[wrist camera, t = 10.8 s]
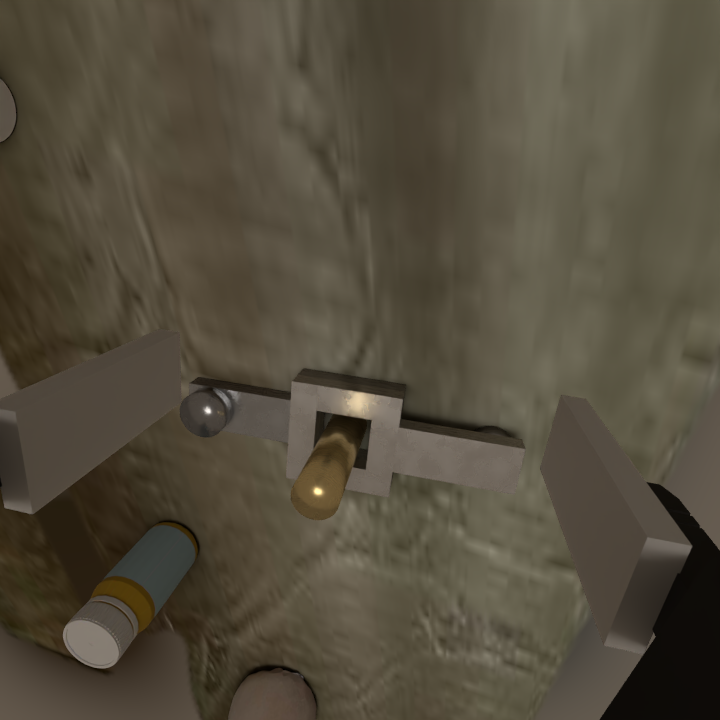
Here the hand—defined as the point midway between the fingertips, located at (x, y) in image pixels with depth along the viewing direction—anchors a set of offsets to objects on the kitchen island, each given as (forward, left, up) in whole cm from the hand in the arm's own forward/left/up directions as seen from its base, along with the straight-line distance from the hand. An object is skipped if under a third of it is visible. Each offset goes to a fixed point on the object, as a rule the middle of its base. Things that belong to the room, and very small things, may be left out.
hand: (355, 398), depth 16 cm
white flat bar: (+16, -5, -30) cm, 34 cm away
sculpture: (+60, -11, -30) cm, 68 cm away
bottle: (+37, -26, -30) cm, 54 cm away
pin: (+16, -5, -30) cm, 34 cm away
